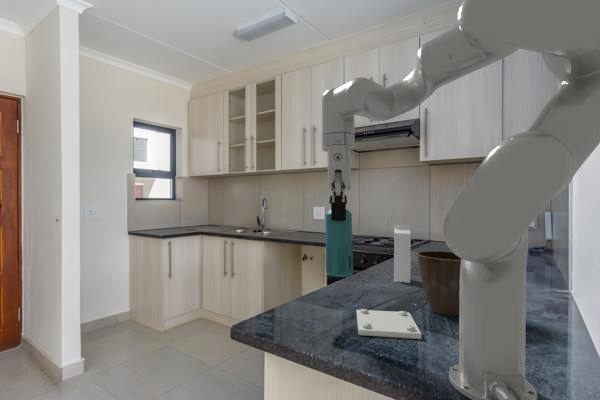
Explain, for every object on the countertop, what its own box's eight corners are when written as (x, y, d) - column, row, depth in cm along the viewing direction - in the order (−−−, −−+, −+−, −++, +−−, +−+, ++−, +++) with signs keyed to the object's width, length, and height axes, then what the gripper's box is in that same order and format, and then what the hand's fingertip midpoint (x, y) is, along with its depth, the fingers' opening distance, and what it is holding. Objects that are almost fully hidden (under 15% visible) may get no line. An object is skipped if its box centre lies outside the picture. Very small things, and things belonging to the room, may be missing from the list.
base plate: (421, 338, 72) (421, 331, 72) (358, 335, 74) (358, 327, 74) (409, 316, 86) (409, 310, 86) (356, 313, 88) (356, 307, 88)
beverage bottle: (353, 284, 71) (352, 194, 71) (323, 283, 72) (322, 194, 72) (354, 277, 77) (353, 194, 77) (326, 276, 79) (326, 195, 79)
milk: (394, 278, 129) (394, 223, 129) (409, 279, 127) (410, 224, 127) (394, 282, 123) (394, 224, 123) (410, 283, 121) (410, 225, 122)
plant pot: (424, 299, 101) (424, 249, 101) (478, 309, 93) (478, 254, 93) (410, 313, 89) (411, 255, 89) (471, 325, 80) (471, 262, 80)
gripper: (355, 135, 66) (356, 222, 66) (353, 149, 83) (354, 218, 83) (319, 136, 67) (320, 222, 67) (324, 150, 84) (325, 218, 84)
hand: (338, 219), depth 75 cm, fingers closed on beverage bottle, 6 cm apart
